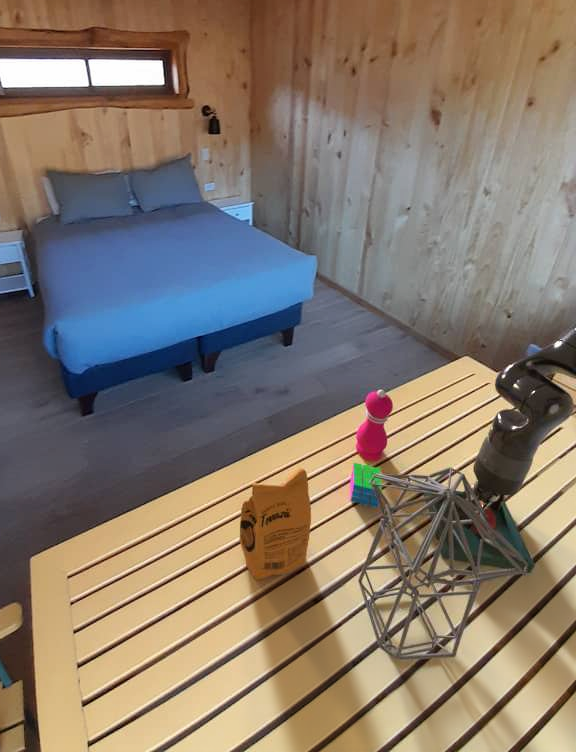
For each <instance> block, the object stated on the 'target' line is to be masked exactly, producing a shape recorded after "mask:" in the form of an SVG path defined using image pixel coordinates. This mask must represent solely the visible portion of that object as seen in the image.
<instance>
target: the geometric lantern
mask: <svg viewBox="0 0 576 752" xmlns="http://www.w3.org/2000/svg"><path fill="white" fill-rule="evenodd" d="M453 472H455V473H457V474H458V477H457V479H455V481H454V483H453V485H452V486H451V481H452V474H453ZM447 475H448V479H447V480H448V481H447V487H446V486H445V485H443V484H441V483H440V482H439V481H441V480H442V479H443V478H444V477H445V478H446V476H447ZM374 478H379V479H381V481H383V482H386V483H389V484H382V483H381V484H377V483H376V482H375V481H373V480H374ZM405 479H406V480H405ZM461 483H462V485H463V488H464V491H465V492H466V496H467V500H468V501H467V500H465V499H463V498H462V497H460V496H458V495H456V494H455V493H454V492H455V491H457V489H458V487H459V486H460V485H461ZM369 484H370V485H373V488H374V491H375V494H376V497H377V500H378V503H379V504H378V507H379V508H380V511H381V514H382V517H383V518H382V517H381V518H380V522H379V524H378V527H377V528H376V529H377V530H376V533H375V535H374V538H373V540H372V543H371V546H370V548H369V551H368V553H367V556H366V559H365V562H364V564H363V567H362V568H361V571H360V573H359V576H358V579H357V581H358V585H359V587H360V591H361V594H362V597H363V601H364V604H365V607H366V610H367V614H368V616H369V619H370V623H371V626H372V630H373V632H374V636H375V639H376V642H377V646H378V647H379V648H380V649H381V650H382V651H383V652H385V654H387V655H389V656H390V657H391V658H393V659H395V660H396V661H398V662H400V661H413V660H415V661H416V660H432V659H448V658H449V659H450V658H451V659H453V658H455V657H457V653H458V650H459V646H460V643H461V640H462V636H463V635H464V634H463V633H464V632H465V631H464V630H465V628H466V625H467V621H468V618H469V616H470V613H471V611H472V608H473V606H474V604H475V602H476V599H477V597H478V594H479V592H480V590H481V587H482V585H483V584H485V583H486V582H490V581H495V580H498V579H504V578H508V577H513V576H517V575H523V576H524V577H527V574H528V573H527V568H528V563H527V562H526V561H525V560H524V559H523V557H522V555H521V554H520V553H519V552H518V551H517V550H516V549H515V548H514V547H513V546H512V545H511V544H510V543H509V542H508V541H507V540H506V539H505V538H504V537H503V536H502V535H501V534H500V533H499V532H498V531H496V530H494V529H493V528H491V527H490V525H489V524H488V522H487V520H486V517H487V516H488V515H487V514H486V513H485V511H484V509H483V507H482V505H481V504H480V502H479V500H478V498H477V497H476V495H475V493H474V491H473V490H472V488H473V487H472V486H471V484H470V482H469V481H468V479H467V477H466V475H465V474H464V473H463V472H460V471H459V470H457V469H454V468H453V467H451V466H450V467H449V466H448V467H446V468H443V469H441V470H438V471H435V472H432V473H430V474H429V475H427V474H426V475H424V474H390V473H381V474H377V473H376V474H375V475H374V476H373V477H372V479H371V481H370V482H369ZM390 484H391V485H390ZM378 486H382V488H388V489H396V490H401V493H400V494H399V496H398V498H397V499H396V501H395V503H394V504H393V505H392V506H390V504H389V502H388V499H386V497H385V495H384V494H383V491H382V492H381V490H380V488H379V487H378ZM425 490H429V491H433V492H428V491H425ZM449 490H450V491H449ZM407 492H415V493H421V494H425V496H426V497H424V496H423V497H419V498H417V499H413V500H410V501H407V502H403V503H401V502H402V500H403V498H404V497H405V495H406V494H407ZM435 492H437V493H435ZM469 492H470V493H471V495H472V497H473V499H474V500H475V502H476V504H477V506H478V507H477V506H476V505H474V504H472V500H471V496H470V493H469ZM427 494H432V495H429V496H427ZM445 496H446V497H445ZM444 497H445V500H444V502H443V504H442V506H441V508H440V510H439V512H437V510H436V508H435V507H434V504H436V503H437V502H439V501H440V500H441V499H443V498H444ZM432 499H433V500H432ZM430 500H432V501H430ZM425 501H429V503H428V504H426V502H425ZM423 503H425V505H423V506H422V507H420V508H419V509H418V510H416V511H415V512H414V513H402V514H394V512H395V511H398V510H401V509H404V508H408V507H411V506H415V505H418V504H423ZM455 503H456V504H457V505H458V506H459V507H460V508H461V509H462V510H463V511H464V513H465V514H466V515H467V516H468V517H469V518H470V519H471V520H460V519H459V516H458V513H457V510H456V507H455ZM384 506H385V507H384ZM430 507H433V509H434V510H435V512H430V513H429V512H427V511H428V509H429V508H430ZM447 507H448V518H447V519H446V518H444V517H443V515H444V513H445V511H446V509H447ZM474 509H475V510H477V511H478V512H480V514H479V515H480V516H479V515H478V514H477V513H476V512H475V511H474ZM452 512H453V515H454V518H455V521H452ZM430 515H435V516H434V518H433V520H432V522H430V525H429V527H428V528H427V531H426V533H425V535H424V537H423V539H422V541H421V544H420V545H419V548H418V550H417V551H416V553H415V556H414V557H413V560H412V558H411V556H410V554H409V552H408V550H407V548H406V546H405V544H404V542H403V540H402V538H401V536H400V535H399V531H400V530H401V529H403V528H404V527H406V526H407V525H409V524H410V523H411V522H413V521H414V520H415V519H417V518H418V517H423V516H430ZM394 518H406V519H404V520H403V521H402V522H400V523H399V524H397V525H396V523H395V519H394ZM441 520H443V521H444V522H445V523H446V525H445V528H444V530H443V533H442V536H441V538H440V541H439V544H438V543H437V546H436V549H435V551H434V555H433V556H432V559H431V563H430V565H429V568H428V570H427V571H425V570H424V569H422V568H421V567H422V564H423V562H424V560H425V558H426V555H427V553H428V551H429V549H430V547H431V545H432V543H433V540H434V538H435V537H436V535H435V533H436V531H437V529H438V527H439V524H440V522H441ZM477 520H478V521H477ZM469 523H474V524H475V526H476V527H477V529H478V531H479V533H480V535H481V537H482V539H483V540H484V542H486V543H488V544H490V545H492V546H494V547H495V548H497V549H498V550H499V551H500V552H501V553H502V554H503V555H504V556H505V557H506V558H507V559H508V560H509V562H510V563H511V564H512V565H513V566H514V567H515V568H514V569H499V570H491V571H481V572H480V567H481V565H480V559H481V551H482V544H483V540H482V539H481V540H480V547H479V554H478V562H477V564H475V563H474V560H473V557H472V554H471V551H470V548H469V546H468V543H467V540H466V537H465V534H464V531H463V528H462V525H461V524H469ZM480 523H481V524H482V525H483V526H485V527H486V528H487V530H488V532H489V533H488V532H487V531H486V529H485V528H484V527H483V526H482V525H481V524H480ZM390 525H391V526H390ZM453 525H457V527H458V530H459V532H460V535H461V538H462V541H463V543H462V542H461V540H460V538H459V536H458V535H457V533H456V531H455V530H454V528H453ZM391 527H393V528H391ZM386 530H387V532H388V534H389V536H390V539H389V537H388V535H387V532H386ZM447 531H448V535H449V560H448V561H449V568H447V569H446V570H442V571H439V572H435V571H436V568H437V564H438V561H439V558H440V555H441V552H440V551H441V548H442V545H443V542H444V539H445V536H446V534H447ZM453 533H454V534H455V536H456V538H457V540H458V541H459V543H460V545H461V547H462V548H463V550H464V552H465V554H466V555H467V557H468V559H469V562H470V563H469V565H470V568H471V570H467V569H457V568H455V561H454V548H453ZM485 535H486V536H485ZM493 535H494V536H493ZM383 536H384V538H385V541H386V544H387V546H388V548H389V550H390V553H391V556H392V558H393V560H394V563H395V564H385V565H383V564H381V565H370V562H371V560H372V559H373V556H374V554H375V552H376V549H377V548H378V546H379V543H380V541H381V539H382V537H383ZM492 536H493V537H492ZM486 537H487V538H488V539H487V538H486ZM497 538H499V539H500V540H501V541H502V542H503V543H504V544H505V545H506V546H507V547H508V548H509V549H510V550H511V551H510V550H508V549H506V548H504V547H502V546H500V545H499V544H498V542H497V541H496V539H497ZM463 544H464V545H463ZM392 545H393V547H392ZM510 556H512V557H514V558H516V559H518V560H520V561H523V562H524V563H525V567H524V572H523V570H522V568H521V567H520V566H519V565H518V564H517V563H516V562H515V561H514V560H513V559H512V558H511V557H510ZM402 559H403V560H404V562H405V563H403V560H402ZM405 568H409V573H408V578H407V575H406V571H405ZM390 569H397V570H398V573H399V575H400V578H401V580H402V583H401V585H400V586H397V587H391V588H388V589H387V588H386V589H382V590H377V591H374V588H373V586H372V583H371V581H370V577H369V575H368V572H367V571H373V570H374V571H377V570H390ZM419 572H420V573H421V574H422V575H424V577H423V578H422V579H421V578H419V577H418V574H419ZM456 575H460V576H467V577H473V576H474V578H471V579H470V578H469V579H461V580H457V579H456V577H455V576H456ZM364 576H365V577H366V581H367V583H368V585H369V588H370V591H371V593H370V592H369V590H368V588H366V587H365V585H364V584H363V582H362V581H363V579H364ZM448 576H450V577H451V578H452V580H451V579H446V578H445V577H448ZM412 577H413V578H414V579H415V580H416V581H418V583H417V584H413V583H412V582H411V581H412ZM425 581H426V582H425ZM435 584H441V585H448V586H449V587H450V591H451V592H449V591H448V592H438V590H437V588H436V585H435ZM463 586H471V589H470V590H465V591H455V588H456V587H463ZM421 587H426V588H427V589H430V588H432V589H431V590H432V591H433V592H432V593H421V594H420V591H419V590H418V588H421ZM407 590H410V591H411V592H410V593H409V592H407ZM394 591H396V592H394ZM389 592H390V593H389ZM404 594H405V595H407V596H408V597H410V598H411V600H412V601H411V602H410V607H409V610H408V613H407V617H406V620H405V623H404V627H403V629H402V634H401V637H400V641H399V644H398V646H396V645H394V644H393V642H392V639H391V637H390V635H389V633H388V631H389V630H390V629H389V628H390V627H391V624H392V621H393V620H394V617H395V614H396V612H397V609H398V607H399V605H400V602H401V599H402V597H403V595H404ZM367 595H368V596H369V600H368V598H367ZM468 595H469V597H468V599H467V603H466V606H465V609H464V613H463V615H462V617H461V621H460V623H459V625H458V627H457V630H456V629H455V627H454V624H453V622H452V620H451V618H450V616H449V614H448V612H447V609H446V607H445V606H444V603H443V601H442V599H441V597H452V596H468ZM393 596H396V598H395V600H394V603H393V605H392V607H391V610H390V613H389V615H388V618H387V621H386V623H384V620H383V617H382V615H381V613H380V611H379V609H378V606H377V603H376V600H377V599H382V598H383V599H384V598H389V597H393ZM419 598H420V599H424V598H426V599H427V598H436V600H437V601H438V604H439V606H440V608H441V610H442V612H443V614H444V617H445V619H446V621H447V623H448V626H449V628H450V630H451V632H452V634H453V635H445V634H444V635H443V634H438V633H437V632H436V629H435V628H434V626H433V624H432V622H431V621H430V618H429V616H428V614H427V612H426V611H425V609H424V607H423V605H422V603H421V601H420V599H419ZM372 606H374V609H375V611H376V613H377V616H378V618H379V621H380V623H381V626H382V628H383V630H382V629H381V627H380V624H379V622H378V619H377V616H376V614H375V611H374V609H373V607H372ZM419 607H420V608H419ZM415 609H416V610H417V612H418V614H419V616H420V619H421V621H422V623H423V624H424V627H425V629H426V631H427V633H428V636H429V637H430V639H431V640H427V641H423V642H419V643H413V644H408V645H405V642H406V639H407V635H408V633H409V628H410V625H411V621H412V620H413V615H414V613H415ZM422 613H423V614H422ZM423 615H424V616H425V618H424V616H423ZM426 621H427V622H426ZM428 625H429V626H430V628H429V626H428ZM430 629H431V630H430ZM431 631H432V633H433V634H432V633H431ZM386 639H387V640H388V643H389V644H387V641H386ZM438 639H445V640H446V639H447V640H454V643H453V646H452V647H453V648H452V651H450V650H449V649H447V648H446V647H445V646H444V645H442V644H440V643H439V642H438V641H437V640H438ZM428 645H429V647H425V648H421V649H415V648H419V647H423V646H428ZM430 645H431V646H430ZM435 645H436V646H437V647H439V648H440V649H441V650H443V651H444V652H442V653H441V652H440V653H425V652H429V651H430V652H431V651H433V650H434V649H435ZM392 649H394V650H395V652H393V651H392ZM409 649H414V650H410V651H406V652H403V651H404V650H409ZM420 653H422V654H420Z"/></svg>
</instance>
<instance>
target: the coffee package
mask: <svg viewBox="0 0 576 752" xmlns="http://www.w3.org/2000/svg"><path fill="white" fill-rule="evenodd" d="M251 490H252V491H251V495H250V497H249V498H247V499H246V500H244V501H243V503H242V506H241V509H240V521H239V543H240V548H241V549H242V552H243V555H244V557H245V562H246V568H247V569H248V571H249V572H250V574H251V575H252V576H253V578H254V579H255V580H257V581H258V580H259V581H260V580H262V579H266V578H268V577H271V576H273V575H276V576H277V575H278V576H279V575H286V574H288V573H290V572H292V571H294V570H295V569H296V568H298V567H300V566H302V565H303V564H305V563H306V558H307V552H308V546H309V541H310V536H311V535H310V534H311V525H312V506H311V499H310V495H309V480H308V474H307V471H306V470H305V469H304V468H303V467H298V468H297V469H296V470H294V472H293V473H292V474H290V475H289V476H288V477H287V478H286V481H285V482H284V483H282V484H280V485H279V484H278V485H277V484H276V485H275V484H267V483H257V482H251Z"/></svg>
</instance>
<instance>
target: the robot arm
mask: <svg viewBox="0 0 576 752" xmlns="http://www.w3.org/2000/svg"><path fill="white" fill-rule="evenodd" d="M554 374H559V375H562V376H566V377H569V378H571V379H573V380H576V322H575V323H573V324H572V325H571V326H570V327H568V329H566V330H565V331H564V332H563V333H561V335H559V336H558V337H557V338H556V339H554V341H552V342H551V343H550V344H549V345H547V346H545V347H543V348H541V349H540V350H537V351H536V352H534V353H531V354H530V355H528V356H526V357H523V358H521V359H519V360H516V361H515V362H512V363H511V364H508V365H506V366H505V367H504V368H503V369H502V370H500V372H499V373H498V374H497V376H496V378H495V381H494V387H495V391H496V393H497V394H498V395H499V396H500V397H501V398H502V399H503V400H505V401H506V402H507V403H509V404H510V405H511V406H512V407H514V408H515V409H512V408H505V409H502V410H500V411H498V412H497V413H496V415H495V416H494V418H493V420H492V423H491V426H490V429H489V430H488V433H487V435H486V437H484V439H483V441H482V443H481V446H480V448H479V451H478V453H477V456H476V458H475V460H474V463H473V468H472V469H473V473H474V476H475V478H476V481H475V482H474V483H473V486H472V487H471V488H472V490H473V491H474V493H475V495H476V497H477V498H479V499H480V500H481V501H482V502H484V503H485V504H484V505H483V506H482V507H483V509H484V511H486V510H487V509H488V508H489V507H491V508H492V509H493V510H495V511H498V510H499V509H500V507H501V505H502V503H503V501H505V500H506V499H508V497H509V496H514V495H516V494H518V493H519V491H520V490H521V489H522V486H523V484H524V481H525V480H526V478H527V476H528V474H529V471H530V470H531V467H532V465H533V461H534V457H535V456H536V453H537V451H538V449H539V447H540V444H541V443H542V442H543V441H544V439H545V438H546V437H547V436H548V435H549V434H550V433H551V432H552V431H553V430H555V429H556V428H557V427H559V426H560V425H562V424H563V423H564V422H566V421H567V420H568V419H569V418H570V417H571V416H572V414H573V413H574V410H575V403H574V398H573V397H572V395H571V394H570V393H569V392H568V391H567V390H566V389H565V388H563V387H561V386H560V385H559V384H557V383H555V382H554V381H552V380H551V379H549V378H548V377H546V376H548V375H554ZM462 492H463V494H462V498H463V499H465V500H467V496H466V492H465V490H463V491H462ZM469 493H470V492H469ZM470 496H471V500H472V504H474V505H476V506H477V504H476V502H475V500H474V499H473V497H472V495H471V493H470ZM467 501H468V500H467ZM477 507H478V506H477ZM456 510H457V512H458V513H459V514H460V515H461V516H460V518H459V519H460V520H471V519H470V518H469V517H468V516H467V515H466V514H465V513H464V511H463V510H462V509H461V508H460V507H459V506H457V508H456ZM474 511H475V512H476V513H477V514H478V515H479V513H480V512H478V511H477V510H475V509H474ZM473 524H474V523H469V524H463V525H464V526H465V527H466V528H467V529H470V528H472V526H473Z"/></svg>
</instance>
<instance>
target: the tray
mask: <svg viewBox="0 0 576 752" xmlns="http://www.w3.org/2000/svg"><path fill="white" fill-rule="evenodd" d="M425 491H428V492H433V491H429V490H425ZM449 491H450V490H449ZM463 492H464V491H463V490H462V491H460V490H456V491H455V492H454V493H455V494H456V495H458V496H460V497H462V494H463ZM435 493H437V492H435ZM422 495H423V497H426V496H425V494H424V493H422ZM429 495H432V494H427V496H429ZM445 497H446V496H445ZM445 497H444V498H443V499H441V500H440V501H439V502H437V503H436V504H434V507H435V508H436V510H437V512H439V510H440V508H441V506H442V504H443V502H444V500H445ZM432 500H433V499H432ZM432 500H430V501H432ZM478 500H479V501H481V500H480V499H479V498H478ZM424 503H425V505H426V504H428V503H429V501H425V502H424ZM457 506H458V505H457V504H456V503H455V507H456V508H457ZM490 509H491V510H492V512H493V513H494V515H495V527H494V530H496V531H498V532H499V533H500V534H501V535H502V536H503V537H504V538H505V539H506V540H507V541H508V542H509V543H510V544H511V545H512V546H513V547H514V548H515V549H516V550H517V551H518V552H519V553H520V554H521V555H522V557H523V559H524V560H525V561H526V562H527V563H528V568H527V573H526V574H531V573H532V571H533V570H534V568H535V566H536V564H535V562H534V561H535V560H534V559H533V558H532V555H531V554H530V551H529V549H528V547H527V545H526V543H525V541H524V539H523V537H522V534H521V532H520V530H519V527H518V526H517V524H516V522H515V520H514V517H513V516H512V514H511V512H510V509H509V507H508V505H507V503H506V501H505V500H504V501H503V503H502V505H501V507H500V509H499V510H498V511H495V510H493V509H492V508H491V507H490ZM430 512H435V510H434V509H433V507H430V508H429V509H428V510H427V513H430ZM457 513H458V512H457ZM434 516H435V515H429V518H430V523H432V520H433V518H434ZM458 516H459V518H460V516H461V515H460V514H459V513H458ZM443 517H444V518H446V519H447V518H448V507H447V509H446V511H445V513H444V515H443ZM452 521H455V518H454V515H453V512H452ZM445 525H446V523H445V522H444V521H443V520H441V522H440V524H439V527H438V529H437V531H436V533H435V538H436V541H438V542H437V545H438V544H439V541H440V538H441V536H442V533H443V530H444V528H445ZM461 525H462V528H463V531H464V534H465V537H466V540H467V543H468V546H469V548H470V551H471V554H472V557H473V560H474V563H475V565H477V562H478V554H479V547H480V540H481V539H482V537H481V535H480V534H479V533H476V532H474V531H472V530H471V529H467V528H466V527H465V526H464V525H463V524H461ZM453 528H454V530H455V531H456V533H457V535H458V536H459V538H460V540H461V542H462V543H463V541H462V538H461V535H460V532H459V530H458V527H457V525H453ZM485 536H486V535H485ZM493 536H494V535H493ZM493 536H492V537H493ZM486 538H487V537H486ZM487 539H488V538H487ZM482 540H483V539H482ZM496 541H497V542H498V544H499V545H500V546H502V547H504V548H506V549H508V550H510V549H509V548H508V547H507V546H506V545H505V544H504V543H503V542H502V541H501V540H500V539H499V538H497V539H496ZM463 545H464V544H463ZM453 548H454V562H461V563H467V564H470V562H469V559H468V557H467V555H466V554H465V552H464V550H463V548H462V547H461V545H460V543H459V541H458V540H457V538H456V536H455V534H454V533H453ZM510 551H511V550H510ZM440 555H441V558H442V559H443V560H448V561H449V535H448V531H447V534H446V536H445V539H444V542H443V545H442V548H441V551H440ZM510 557H511V558H512V559H513V560H514V561H515V562H516V563H517V564H518V565H519V566H520V567H521V568H522V570H523V572H524V567H525V563H524V562H523V561H520V560H518V559H516V558H514V557H512V556H510ZM480 566H485V567H491V568H497V569H501V570H506V569H514V568H515V567H514V566H513V565H512V564H511V563H510V562H509V560H508V559H507V558H506V557H505V556H504V555H503V554H502V553H501V552H500V551H499V550H498V549H497V548H495V547H494V546H492V545H490V544H488V543H486V542H484V540H483V544H482V551H481V559H480Z"/></svg>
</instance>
